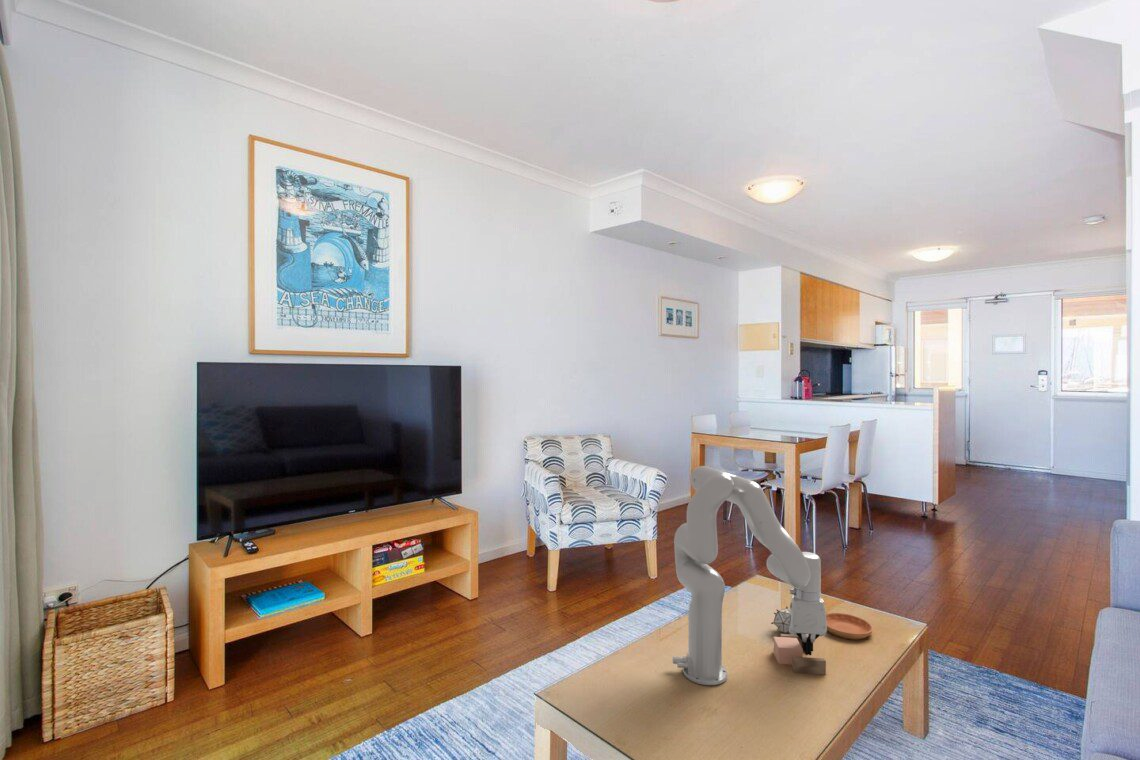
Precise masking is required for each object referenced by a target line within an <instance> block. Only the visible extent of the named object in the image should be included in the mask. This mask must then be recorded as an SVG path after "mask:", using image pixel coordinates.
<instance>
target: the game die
mask: <svg viewBox="0 0 1140 760" xmlns="http://www.w3.org/2000/svg"><path fill="white" fill-rule="evenodd" d="M789 612H790V609H788V606H786V607H785V608H784V609H783V608H782V609H781V610H779V609H776V612H773V614H774V619H773V622H771V623H770V624H771V625H775V626H776V628H777V630H780V632H782V634H788V633H790V632H789V627H790V624H789Z"/></svg>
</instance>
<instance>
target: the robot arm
mask: <svg viewBox="0 0 1140 760" xmlns="http://www.w3.org/2000/svg"><path fill="white" fill-rule="evenodd" d="M689 477H690V478H689V480H690V484H691V485H690V486H691V487H692V489H694V490H695V493H694V494H693V495H692V496H691V498H690V500H689V501H688V503H687V504H688V505H687V507H686V522H684V523H682V524H681V525H680V526H679V527H677V529H676V531H675V533H674V537H673V543H674V544H673V546H674V549H673V550H674V562H675V572H676V576H677V579H678V581H679V583H680V584H681V585H682V586H683V588H685V589H686V590H687V591H688V592H689V593H690V594H691V599H690V603H689V606H688V614H687V615H688V617H687V618H688V619H687V620H688V652H687V653H686V656H685V655H684V656H683V657H681V656H680V657H679V656H672V664H673V665H676V666H677V668H679V669H681V668H682V672H683V675H684V677H685V678H687V679H688V680H689V681H691V682H693V683H695V684H698V685H703V686H718V685H721V684H722V683H724V682H725V681H727V679H728V671H727V669H726V668H725V666H723V664H722V663H723V662H722V661H723V659H722V658H723V649H722V648H723V647H722V645H723V638H722V637H723V632H722V631H723V630H722V629H723V625H722V624H723V623H722V622H723V620H722V619H723V615H722V614H723V602H724V597H725V592H726V585H725V581H724V579H723V577H722V576H721V574H720V573H719V572H718V571H717V570H716V569H714V568H713V567H711V566H710V565H709V564H711V563H713V562H714V561H715V560H716V559H717V556H718V553H719V544H718V530H717V517H718V516H717V514H718V511H719V509H720V507H721V505H722V504H723V503H724V502H725V501H726V502H730V503H732V504H734V505H737V507H738V508H739V510H740V512H741V514H742V516H743V518H744V519H745V521H746V524H747V525H748V528H749V530H750V532H751V534H752V535H753V536H754V537H755V538H756V540H758V542H759V543H760V544H762V545H763V546H764V547H765V548H767V549H768V550H769V552H770V553H771V554H769V556H768V557H767V559H766V568H767V570H768V571H769V572H770V573H771V574H772V575H773V576H774V577H776V578H777V579H780V580H781V581H783V582H785V583H786V584H788V585H790V586H791V587H793V588H791V589H789V590H788V593H789V594H790V595H792V597H791V600H790V604H789V605H790V606H789V611H790V612H789V624H790V627H789V632H788V633H789V634H794V635H797V636H798V637H799V638H800V639H801V640H802V648H803V654H804V655H805V656H812V654H813V652H814V643H815V641H816V640H817V639H818V638H819V637H825V636H827V632H828V630H827V621H826V614H827V613H826V605H825V600H824V599H823V598H822V595H821V594H822V592H821V591H822V590H821V588H822V586H821V585H822V581H821V579H822V577H821V575H822V568H821V567H822V564H821V562H822V561H821V560H822V559H821V558H820V556H819V555H818V554H817V553H813V552H810V551H802V550H801V549H800V547H799V545H798V544H797V543H796V541H795V540H794V539H793V538H792V536H790V534H789V533H788V532H787V530H786V529H785V528H784V527H783V526H782V525H781V523H780V521H779V519H778V517H777V516H776V514H775V512H774V510H773V508H772V506H771V503H770V501H769V499H768V498H767V495H766V493H765V492H764V490H763V488H762V487H761V485H760V484H759V483H758V482H755V481H754V480H751V479H748V478H745V477H744V476H743V477H742V476H738V475H735V474H731V473H729V472H725V471H723V470H720V469H716V468H713V467H711V466H707V465H700V466H697V467H695V468H694V469H693V471H692V472H691V474H690V476H689ZM806 635H808V638H807V639H806Z"/></svg>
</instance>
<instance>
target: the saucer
mask: <svg viewBox="0 0 1140 760" xmlns="http://www.w3.org/2000/svg"><path fill="white" fill-rule="evenodd" d="M826 621H827V632H828V633H830V634H832V635H834V636H836V635H837V636H836V637H839V638H842V637H843V639H847V638H850V639H849V640H862V639H861V638H863V639H865V638H868V637H869V636H870V635H872V633H873V630H874V628H873V625H872V624H871V623H870V622H869V621H867V620H865V619H863V618H861V617H858V616H855V615H852V614H848V613H839V612H830V613H826Z"/></svg>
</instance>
